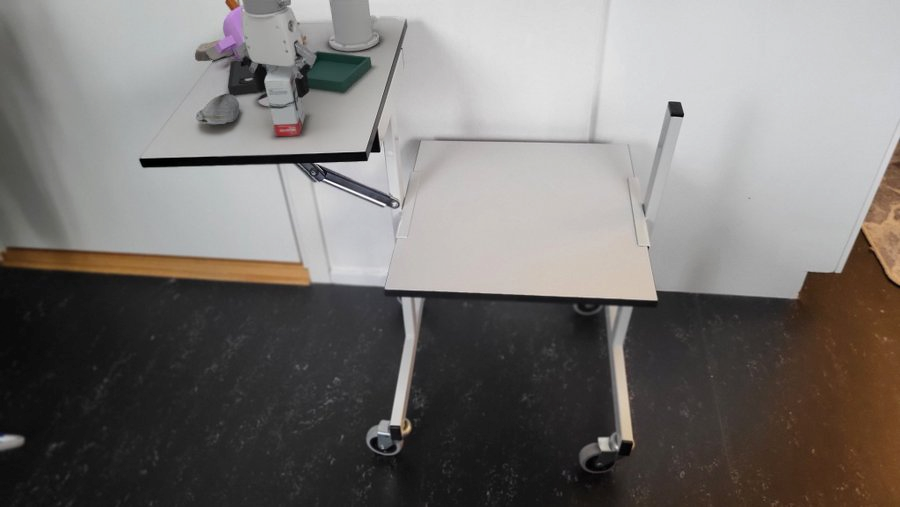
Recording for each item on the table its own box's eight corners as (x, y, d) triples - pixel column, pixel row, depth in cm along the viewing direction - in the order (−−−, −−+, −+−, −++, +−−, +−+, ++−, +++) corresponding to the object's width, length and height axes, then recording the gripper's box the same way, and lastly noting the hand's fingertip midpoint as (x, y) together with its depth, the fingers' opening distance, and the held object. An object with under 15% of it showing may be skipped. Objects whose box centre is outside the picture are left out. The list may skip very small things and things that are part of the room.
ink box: (300, 136, 132) (289, 79, 124) (275, 137, 132) (262, 81, 124) (306, 116, 138) (295, 61, 131) (282, 117, 138) (270, 62, 131)
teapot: (213, 11, 148) (197, 29, 158) (241, 63, 151) (224, 78, 161) (286, -14, 158) (267, 4, 169) (311, 35, 162) (291, 51, 172)
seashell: (214, 107, 143) (208, 85, 140) (250, 108, 142) (245, 86, 139) (190, 134, 134) (183, 111, 131) (229, 135, 133) (222, 112, 130)
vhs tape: (266, 90, 148) (264, 82, 147) (230, 95, 147) (227, 86, 146) (266, 65, 159) (264, 57, 158) (233, 69, 158) (230, 61, 157)
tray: (318, 61, 161) (317, 51, 159) (371, 67, 156) (370, 57, 155) (288, 85, 150) (285, 75, 149) (343, 92, 146) (341, 82, 145)
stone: (201, 65, 162) (197, 51, 160) (193, 60, 165) (189, 46, 162) (245, 50, 167) (242, 37, 165) (237, 46, 170) (233, 32, 168)
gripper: (317, -1, 119) (332, 89, 130) (236, -8, 125) (257, 79, 136) (295, 13, 114) (313, 106, 125) (212, 5, 119) (235, 95, 130)
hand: (283, 91), depth 130 cm, fingers open, 8 cm apart
